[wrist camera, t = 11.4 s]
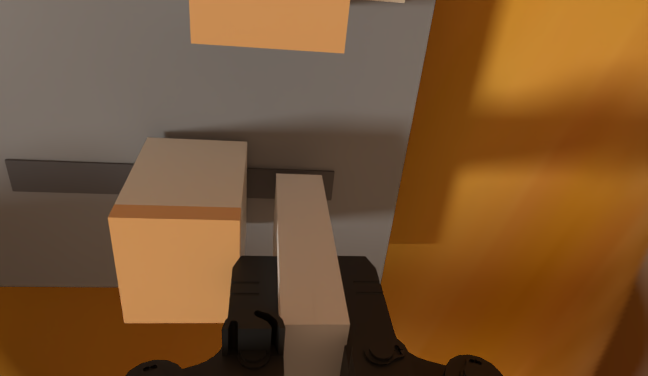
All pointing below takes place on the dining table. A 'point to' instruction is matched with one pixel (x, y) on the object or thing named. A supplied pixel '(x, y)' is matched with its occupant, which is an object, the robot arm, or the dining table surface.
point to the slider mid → (271, 24)
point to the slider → (180, 230)
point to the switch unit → (192, 123)
